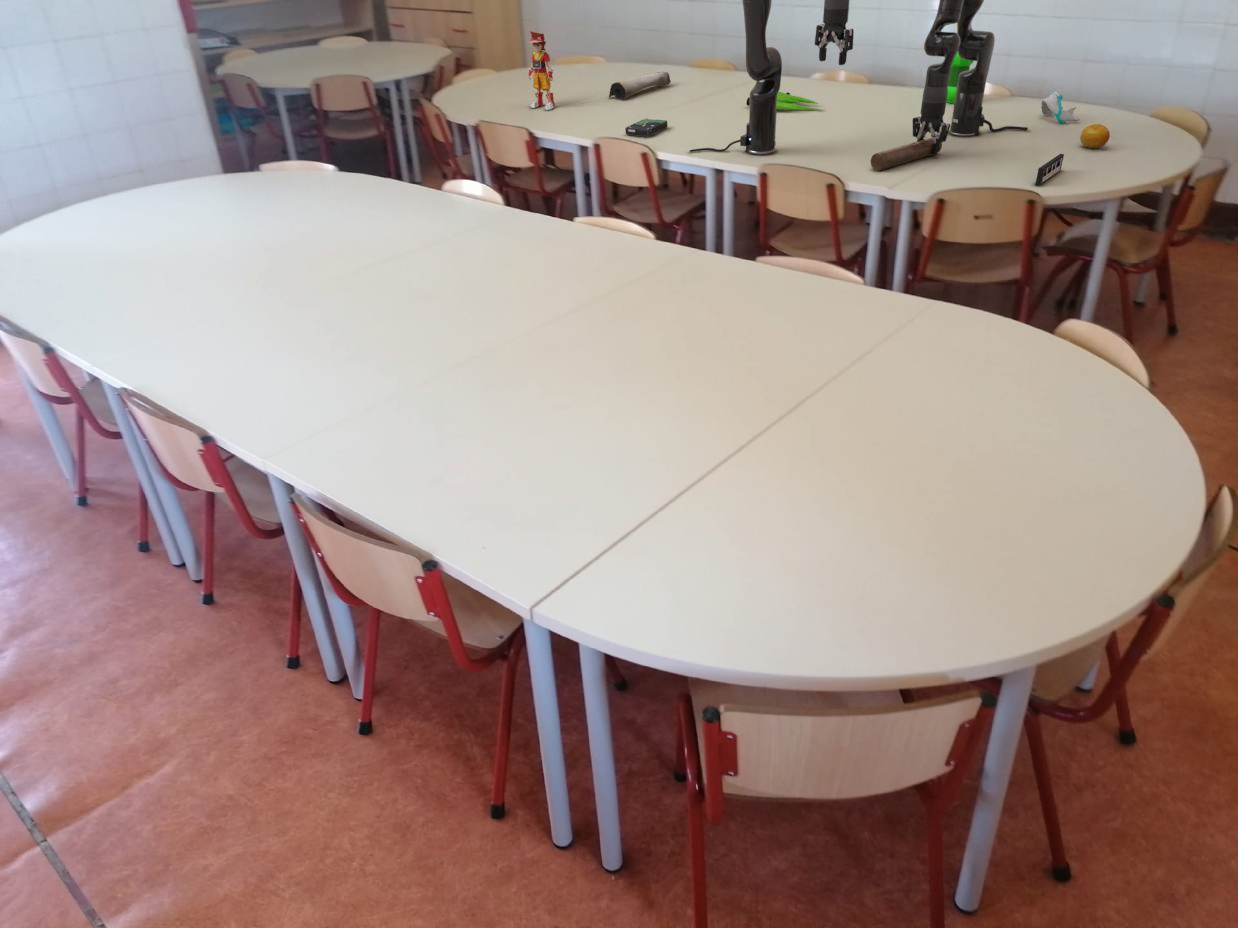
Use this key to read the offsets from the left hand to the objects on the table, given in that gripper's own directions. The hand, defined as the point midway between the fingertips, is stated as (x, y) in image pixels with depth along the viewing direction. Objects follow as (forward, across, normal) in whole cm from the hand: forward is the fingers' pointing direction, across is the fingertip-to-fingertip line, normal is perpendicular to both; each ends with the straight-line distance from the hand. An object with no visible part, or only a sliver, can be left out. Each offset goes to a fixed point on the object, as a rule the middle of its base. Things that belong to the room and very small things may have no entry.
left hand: (832, 63), depth 284 cm
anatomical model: (+30, +21, +95) cm, 102 cm away
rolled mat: (+30, -128, +13) cm, 132 cm away
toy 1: (+30, -136, -32) cm, 143 cm away
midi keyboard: (+30, +60, +36) cm, 76 cm away
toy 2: (+30, -62, +39) cm, 79 cm away
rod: (+30, +20, +18) cm, 40 cm away
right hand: (+29, +20, +28) cm, 45 cm away
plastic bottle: (+30, -21, +90) cm, 98 cm away
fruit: (+30, +50, +73) cm, 94 cm away
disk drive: (+30, -72, -23) cm, 82 cm away
